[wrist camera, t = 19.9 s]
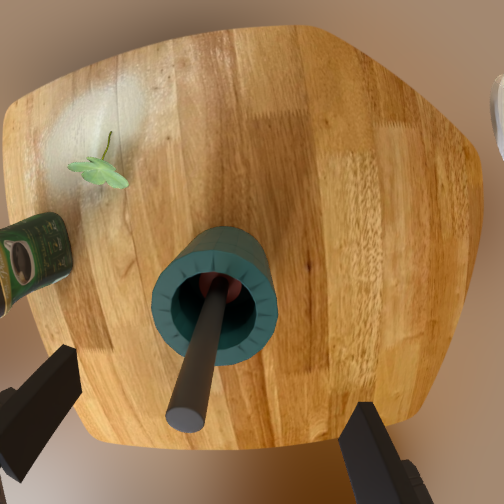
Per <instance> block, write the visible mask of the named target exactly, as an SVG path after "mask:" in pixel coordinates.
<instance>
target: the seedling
mask: <svg viewBox="0 0 504 504" xmlns="http://www.w3.org/2000/svg"><path fill="white" fill-rule="evenodd" d="M111 133H112V131H111V132H110V134H109V137H108V144H107V148H106V150H105V152H104V154H103V157H102V160H101V159H98V158H94V157H87V159H88V160H89V161H90V162H74V163H71V164H69V165H68V168H69V170H71V171H74V172H82V171H84V172H83V173H82V174H81V175H82V177H83V178H84V179H85V180H86V181H88V182H91V183H93V184H98V185H101V184H104V183H105V181H106V182H107V183H108V184H109V185H110V186H111V187H113V188H120V189H124V188H126V187H128V186H129V184H128V182H127V180H126V179H125V178H124V177H123V176H121V175H120V174H118V173H117V172H114V171H115V170H116V169H115V168H114V167H113V166H112V165H111V164H109V163H108V162H106V161H103V159H104V156H105V154H106V152H107V150H108V147H109V142H110V136H111ZM89 170H90V171H89Z"/></svg>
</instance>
